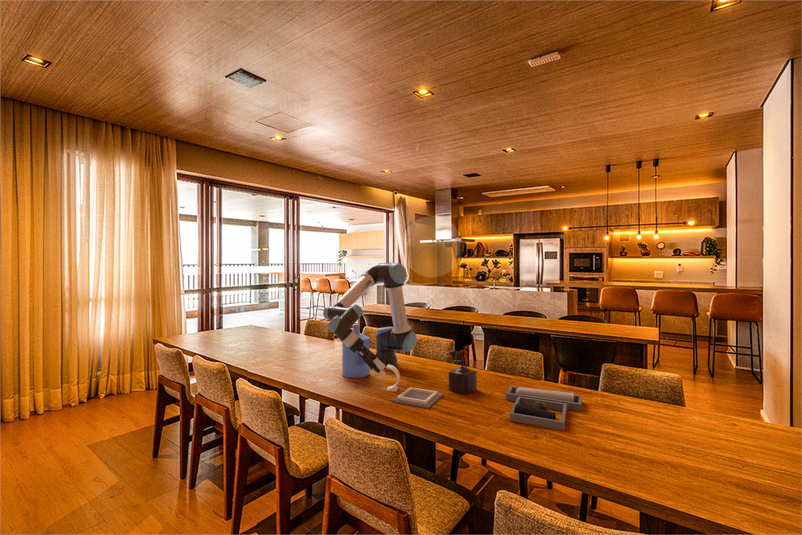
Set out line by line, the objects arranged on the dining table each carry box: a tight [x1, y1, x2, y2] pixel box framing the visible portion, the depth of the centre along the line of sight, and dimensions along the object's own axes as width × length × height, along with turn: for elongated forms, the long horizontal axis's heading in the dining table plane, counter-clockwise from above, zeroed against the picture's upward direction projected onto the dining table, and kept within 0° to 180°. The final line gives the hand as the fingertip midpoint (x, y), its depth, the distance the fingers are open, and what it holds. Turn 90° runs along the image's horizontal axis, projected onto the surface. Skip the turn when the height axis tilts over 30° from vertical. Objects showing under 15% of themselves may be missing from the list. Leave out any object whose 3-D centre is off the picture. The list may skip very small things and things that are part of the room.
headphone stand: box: [385, 365, 401, 392], centre depth 188 cm, size 5×6×12 cm
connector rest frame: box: [508, 396, 568, 431], centre depth 155 cm, size 21×20×3 cm
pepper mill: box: [448, 349, 478, 395], centre depth 189 cm, size 16×11×18 cm
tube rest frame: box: [505, 385, 583, 412], centre depth 172 cm, size 11×31×3 cm, turn 64°
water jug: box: [341, 324, 371, 379], centre depth 214 cm, size 16×16×28 cm
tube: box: [516, 386, 575, 402], centre depth 173 cm, size 5×5×25 cm
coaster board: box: [391, 386, 444, 409], centre depth 175 cm, size 18×18×2 cm
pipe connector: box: [514, 402, 557, 420], centre depth 153 cm, size 12×5×15 cm
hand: (384, 372), depth 186 cm, fingers open, 13 cm apart
